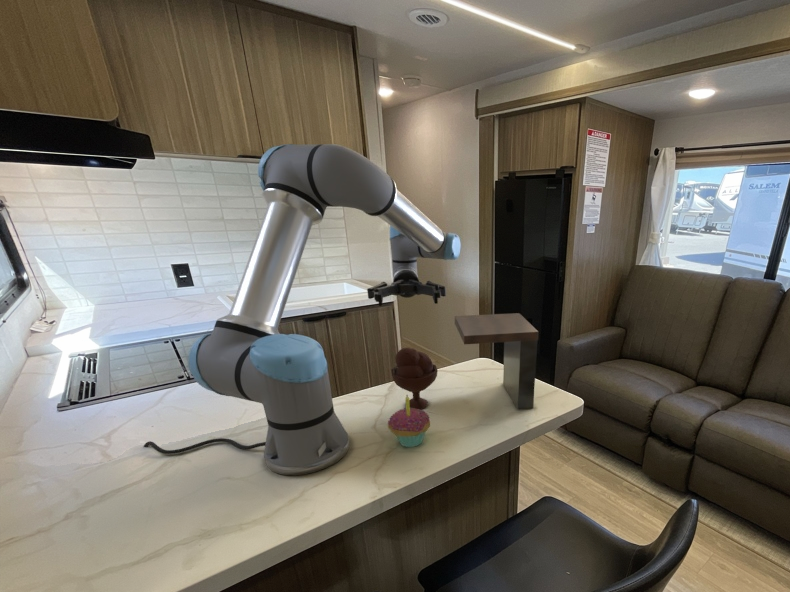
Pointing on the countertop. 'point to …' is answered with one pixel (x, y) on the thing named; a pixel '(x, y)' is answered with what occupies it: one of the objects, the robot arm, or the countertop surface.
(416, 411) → the cupcake
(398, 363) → the ice cream bowl
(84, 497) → the countertop surface
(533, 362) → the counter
